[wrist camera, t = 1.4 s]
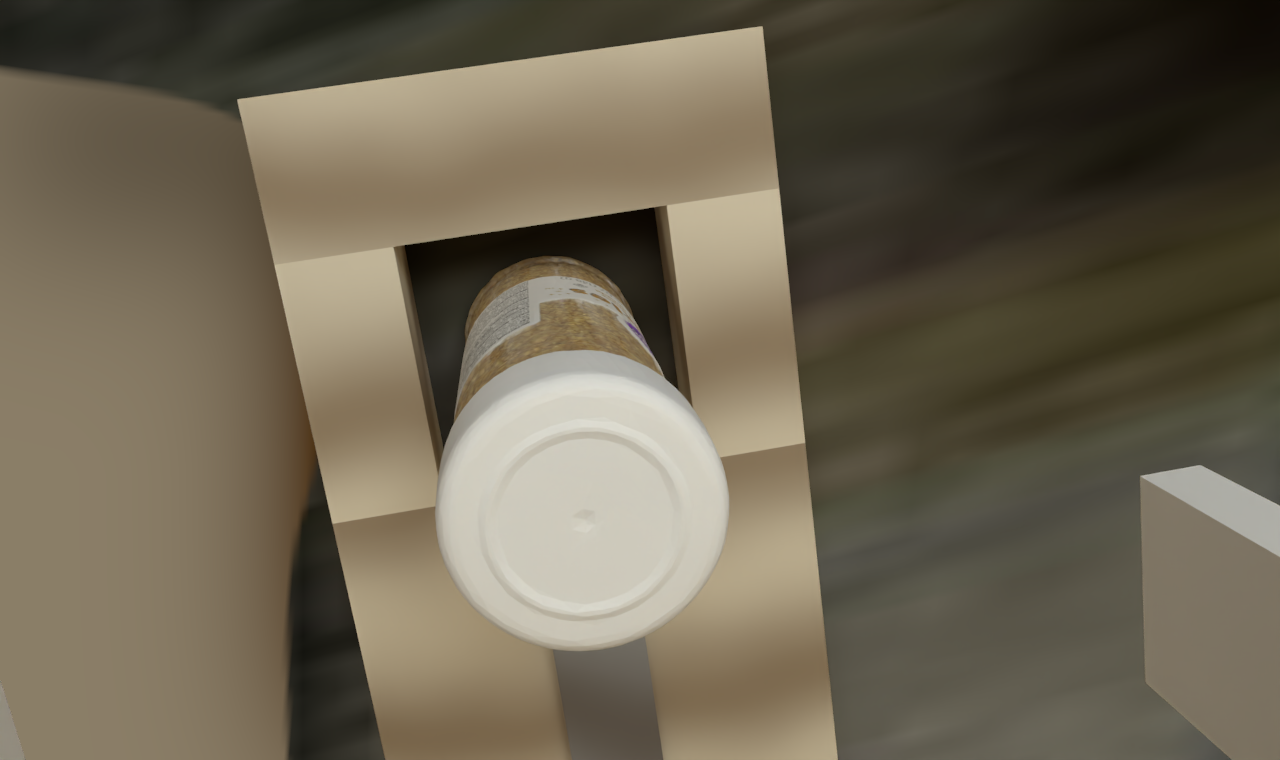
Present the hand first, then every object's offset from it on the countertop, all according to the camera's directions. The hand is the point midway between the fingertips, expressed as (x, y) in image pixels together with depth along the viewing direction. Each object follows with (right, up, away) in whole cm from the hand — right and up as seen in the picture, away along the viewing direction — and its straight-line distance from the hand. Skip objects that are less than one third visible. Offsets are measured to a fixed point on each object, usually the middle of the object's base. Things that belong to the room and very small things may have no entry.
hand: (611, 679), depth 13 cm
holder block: (-2, +1, +18) cm, 18 cm away
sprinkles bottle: (-2, +5, +17) cm, 18 cm away
